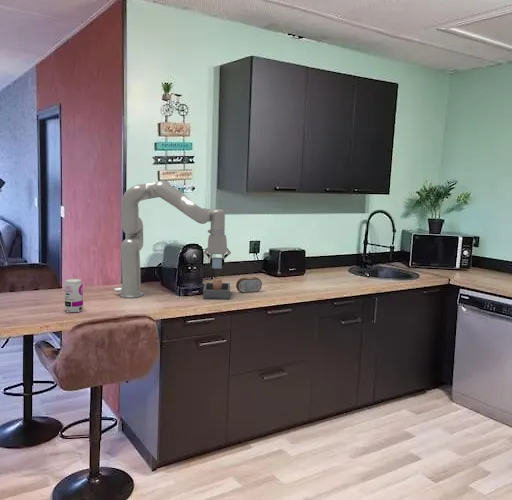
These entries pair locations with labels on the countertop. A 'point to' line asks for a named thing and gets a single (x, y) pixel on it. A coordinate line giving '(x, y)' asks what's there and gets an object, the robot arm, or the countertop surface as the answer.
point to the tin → (249, 284)
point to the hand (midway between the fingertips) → (217, 265)
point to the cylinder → (217, 284)
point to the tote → (216, 292)
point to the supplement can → (73, 295)
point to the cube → (216, 262)
